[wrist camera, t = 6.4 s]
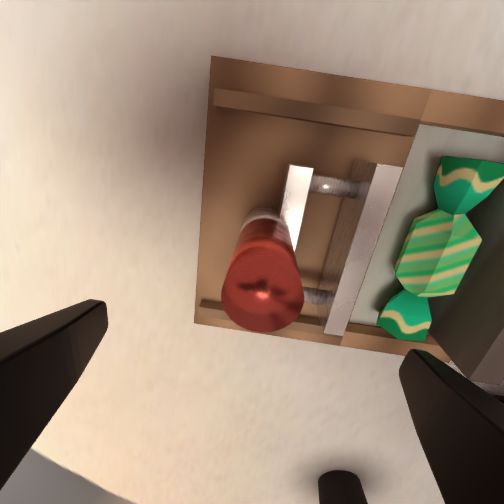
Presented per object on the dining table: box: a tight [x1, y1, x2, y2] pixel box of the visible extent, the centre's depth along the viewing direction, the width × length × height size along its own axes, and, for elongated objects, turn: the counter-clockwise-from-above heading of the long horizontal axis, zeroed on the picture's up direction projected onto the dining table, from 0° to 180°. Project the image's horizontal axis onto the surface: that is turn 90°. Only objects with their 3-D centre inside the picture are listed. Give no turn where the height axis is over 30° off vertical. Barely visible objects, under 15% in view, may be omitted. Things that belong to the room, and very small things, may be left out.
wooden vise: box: [194, 56, 504, 385], centre depth 16 cm, size 21×18×6 cm
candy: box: [376, 156, 504, 341], centre depth 17 cm, size 12×3×4 cm
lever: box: [221, 159, 403, 336], centre depth 13 cm, size 7×10×8 cm
